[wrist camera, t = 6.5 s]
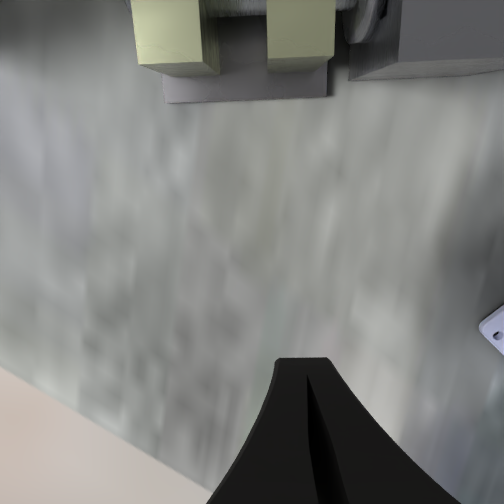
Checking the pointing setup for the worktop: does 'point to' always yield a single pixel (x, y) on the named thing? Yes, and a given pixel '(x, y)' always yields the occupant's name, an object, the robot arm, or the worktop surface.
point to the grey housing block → (432, 40)
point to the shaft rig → (246, 45)
